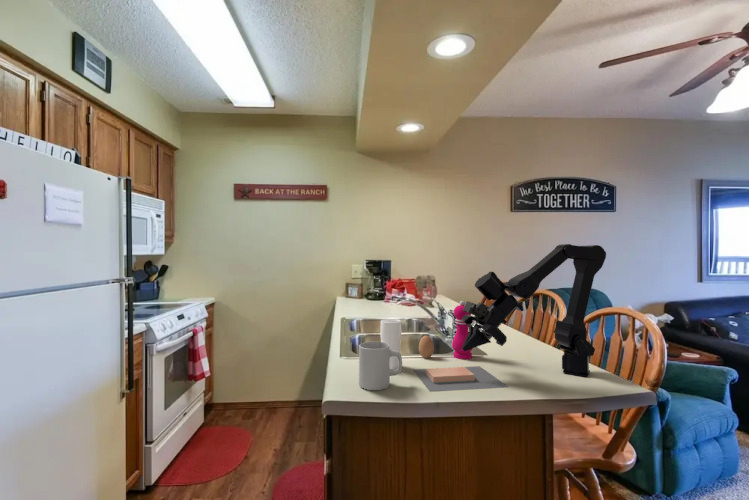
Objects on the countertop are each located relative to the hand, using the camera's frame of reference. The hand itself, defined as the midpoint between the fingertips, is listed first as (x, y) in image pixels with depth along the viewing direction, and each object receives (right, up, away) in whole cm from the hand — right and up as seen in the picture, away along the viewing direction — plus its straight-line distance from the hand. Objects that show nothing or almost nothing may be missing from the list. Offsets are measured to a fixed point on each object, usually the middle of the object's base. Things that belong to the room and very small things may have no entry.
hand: (463, 349), depth 102 cm
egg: (-8, -9, +20) cm, 23 cm away
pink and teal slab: (+2, -7, 0) cm, 7 cm away
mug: (-24, -8, -5) cm, 26 cm away
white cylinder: (-21, -9, +10) cm, 24 cm away
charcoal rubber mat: (-2, -8, 0) cm, 8 cm away
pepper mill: (+5, -9, +21) cm, 23 cm away
